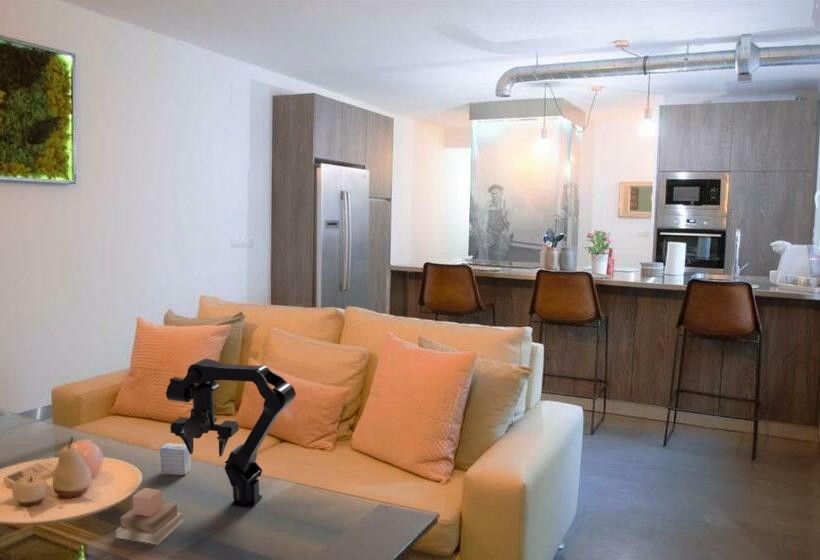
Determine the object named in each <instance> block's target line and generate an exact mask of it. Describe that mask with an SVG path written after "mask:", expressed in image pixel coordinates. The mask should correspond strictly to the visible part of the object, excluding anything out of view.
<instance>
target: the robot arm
mask: <svg viewBox="0 0 820 560" xmlns="http://www.w3.org/2000/svg"><path fill="white" fill-rule="evenodd" d="M216 381H229V382H231V381H233V382H250V383H251V382H252V383H253V384H254V385H255V386H256V388H257V391H258V393H259V395H260V396H261V397H262V398H263V399H264V401H263V406H262V409H263V410H262V412H261V414H260V416H259V417H258V419H257V421H256V422H255V425H253V428H252V429H251V431H250V433H249V434H248V436H247V438H246V440H245V441H244V443H241V444H240V445H238V446H237V447H235V448H234V449H233V450H232V451H231V452H230V453H229V455H228V458H227V460H225V461H224V463H225V466H224V471H225V473H226V476H227V478H228V480H229V484H230V487H232V499H233V501H232V502H231V505H232V506H237V507H238V506H239V507H244V508H245V507H246V508H254V507H255V505H257V503H258V502H259V501H260V500H261V499H262V498H263V496H262V495H261V494H260V480H259V479H258V478H260V477H261V475H262V473H263V469H262V468H261V467H260V466H259V464H258V463H257V462H256V461H257V457H258V456H257V453H258V450H259V449H260V447H261V445H262V443H263V442H264V440H265V439H266V437H267V435H268V433H269V432H270V430H271V429H272V427H273V425H274V423H275V421H276V420H277V419H278V417H279V415H280V414H281V413H282V412H283V411H284V410H285V409H286V408H288V406H289V405H290V404H291V403H292V402H293V401H294V399H296V395H297V394H296V391H295V390H296V389H295V388H294V386H293V385H292V384H290V383H288V382H287V381H286V380H285V378H284V377H282V376H281V375H279V374H277V373H275V372H273V371H272V370H271V369H270V368H269V367H268V366H267V365H265V364H264V365H263V364H261V365H247V364H246V365H244V364H224V363H221V362H219V361H218V360H215V359H210V358H202V359H201V360H199V361H197V362H195V363H193V364H191V365H189V367H188V368H187V373H186V375H185V377H183V378H182V377H178V376H174V377H171V378H170V379H169V384H168V385H167V388H166V391H165V396H166V398H167V400H168V401H170V402H180V403H190V402H191V401H192V408H191V409H190V413H189V414H190V416H189V417H182V416H181V417H178V418H177V419H176V420H174V421H173V422H171V423H170V426H169V429H170V430H169V431H170V433H171V434H174V435H175V436H176V437H180V438H181V439H182V441H183V444H185V445H186V447H187V449H188V451H189V453H190V455H192V454H194V439H200V438H201V437H202V436H203V434H208V433H209V432H210V431H211V432H212V431H213V432H216V434H217V435H218V436H217V437H216V439H217V440H218V455H219V457H220V458H221V457H222V456H223V455H224V452H225V449H226V446H227V443H228V441H229V439H230V438H232V437H233V436H234V435H235V434H236V433H238V431H240V427H239V426H240V425H239V423H238V421H236V420H235V421H234V420H224V421H223V422H222V423H220V424H219V423H216V422H218V421H217V420H218V418H217V417H215V409H216V408H217V404H216V403H214V402H215V401H214V400H215V399H214V392H215V391H216V390H218V389H220V388H221V385H219V384H218V383H216ZM269 384H270V385H271V386H273V387H274V388H271V386H270V385H269Z"/></svg>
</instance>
